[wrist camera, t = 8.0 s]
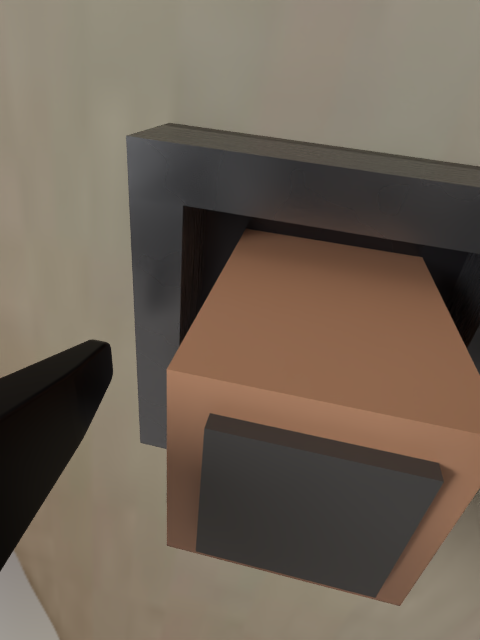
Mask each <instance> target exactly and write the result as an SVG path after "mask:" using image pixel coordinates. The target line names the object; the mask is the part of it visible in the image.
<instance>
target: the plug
mask: <svg viewBox="0 0 480 640" xmlns="http://www.w3.org/2000/svg"><path fill="white" fill-rule="evenodd" d="M479 488H480V375H479V373H478V371H477V369H476V367H475V365H474V363H473V361H472V358H471V356H470V354H469V352H468V350H467V348H466V346H465V344H464V342H463V340H462V338H461V336H460V334H459V332H458V330H457V328H456V326H455V324H454V322H453V320H452V317H451V315H450V313H449V311H448V309H447V307H446V305H445V303H444V301H443V299H442V297H441V295H440V293H439V291H438V289H437V287H436V285H435V283H434V281H433V278H432V276H431V274H430V272H429V270H428V268H427V266H426V264H425V262H424V260H423V258H422V257H417V256H411V255H405V254H399V253H393V252H386V251H380V250H374V249H368V248H362V247H356V246H349V245H343V244H337V243H331V242H325V241H319V240H312V239H306V238H300V237H294V236H288V235H282V234H275V233H269V232H263V231H257V230H251V229H245V231H244V233H243V235H242V237H241V238H240V240H239V242H238V244H237V245H236V247H235V249H234V251H233V253H232V254H231V256H230V258H229V260H228V261H227V263H226V265H225V267H224V268H223V270H222V272H221V274H220V276H219V277H218V279H217V281H216V283H215V284H214V286H213V288H212V290H211V292H210V293H209V295H208V297H207V299H206V300H205V302H204V304H203V306H202V308H201V309H200V311H199V313H198V315H197V316H196V318H195V320H194V322H193V323H192V325H191V327H190V329H189V331H188V332H187V334H186V336H185V338H184V339H183V341H182V343H181V345H180V347H179V348H178V350H177V352H176V354H175V355H174V357H173V359H172V361H171V363H170V364H169V366H168V368H167V546H170V547H174V548H178V549H182V550H186V551H190V552H194V553H197V554H201V555H205V556H209V557H213V558H217V559H221V560H224V561H228V562H232V563H236V564H240V565H244V566H248V567H251V568H255V569H259V570H263V571H267V572H271V573H275V574H278V575H282V576H286V577H290V578H294V579H298V580H302V581H305V582H309V583H313V584H317V585H321V586H325V587H329V588H332V589H336V590H340V591H344V592H348V593H352V594H356V595H359V596H363V597H367V598H371V599H375V600H379V601H383V602H386V603H390V604H394V605H398V606H400V605H401V604H402V602H403V601H404V599H405V598H406V596H407V595H408V593H409V592H410V590H411V589H412V587H413V586H414V584H415V583H416V581H417V580H418V579H419V577H420V576H421V574H422V573H423V571H424V570H425V568H426V567H427V565H428V564H429V562H430V561H431V559H432V558H433V556H434V555H435V553H436V552H437V550H438V549H439V547H440V546H441V544H442V543H443V542H444V540H445V539H446V537H447V536H448V534H449V533H450V531H451V530H452V528H453V527H454V525H455V524H456V522H457V521H458V519H459V518H460V516H461V515H462V513H463V512H464V510H465V509H466V507H467V506H468V505H469V503H470V502H471V500H472V499H473V497H474V496H475V494H476V493H477V491H478V490H479Z"/></svg>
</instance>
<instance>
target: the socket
mask: <svg viewBox="0 0 480 640" xmlns="http://www.w3.org/2000/svg"><path fill="white" fill-rule="evenodd" d="M126 142H127V164H128V185H129V207H130V228H131V250H132V271H133V293H134V314H135V336H136V357H137V378H138V400H139V421H140V443H144V444H148V445H152V446H156V447H161V448H165V449H167V368H168V366H169V364H170V363H171V361H172V359H173V357H174V355H175V354H176V352H177V350H178V348H179V347H180V345H181V343H182V341H183V339H184V338H185V336H186V334H187V332H188V331H189V329H190V327H191V325H192V323H193V322H194V320H195V318H196V316H197V315H198V313H199V311H200V309H201V308H202V306H203V304H204V302H205V300H206V299H207V297H208V295H209V293H210V292H211V290H212V288H213V286H214V284H215V283H216V281H217V279H218V277H219V276H220V274H221V272H222V270H223V268H224V267H225V265H226V263H227V261H228V260H229V258H230V256H231V254H232V253H233V251H234V249H235V247H236V245H237V244H238V242H239V240H240V238H241V237H242V235H243V233H244V231H245V229H251V230H257V231H263V232H269V233H275V234H282V235H288V236H294V237H300V238H306V239H312V240H319V241H325V242H331V243H337V244H343V245H349V246H356V247H362V248H368V249H374V250H380V251H386V252H393V253H399V254H405V255H411V256H417V257H422V258H423V260H424V262H425V264H426V266H427V268H428V270H429V272H430V274H431V276H432V278H433V281H434V283H435V285H436V287H437V289H438V291H439V293H440V295H441V297H442V299H443V301H444V303H445V305H446V307H447V309H448V311H449V313H450V315H451V317H452V320H453V322H454V324H455V326H456V328H457V330H458V332H459V334H460V336H461V338H462V340H463V342H464V344H465V346H466V348H467V350H468V352H469V354H470V356H471V358H472V361H473V363H474V365H475V367H476V369H477V371H478V373H479V375H480V167H479V166H472V165H465V164H458V163H450V162H443V161H436V160H429V159H422V158H415V157H408V156H401V155H393V154H386V153H379V152H372V151H365V150H358V149H351V148H344V147H337V146H329V145H322V144H315V143H308V142H301V141H294V140H287V139H280V138H273V137H265V136H258V135H251V134H244V133H237V132H230V131H223V130H216V129H209V128H201V127H194V126H187V125H180V124H173V123H168V124H164V125H161V126H157V127H154V128H151V129H147V130H144V131H141V132H137V133H134V134H131V135H127V136H126Z"/></svg>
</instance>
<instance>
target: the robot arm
mask: <svg viewBox="0 0 480 640" xmlns="http://www.w3.org/2000/svg"><path fill="white" fill-rule="evenodd" d="M112 375H113V365H112V354H111V347H110V344H109V343H107V342H103V341H99V340H88V341H86V342H84V343H81V344H79V345H77V346H74V347H72V348H70V349H67V350H65V351H63V352H60V353H58V354H56V355H53V356H51V357H49V358H47V359H44V360H42V361H40V362H37V363H35V364H33V365H30V366H28V367H26V368H23V369H21V370H19V371H16V372H14V373H12V374H9V375H7V376H5V377H2V378H0V571H1V569H2V568H3V566H4V565H5V563H6V561H7V560H8V558H9V557H10V555H11V553H12V552H13V550H14V549H15V547H16V545H17V544H18V542H19V541H20V539H21V537H22V536H23V534H24V533H25V531H26V529H27V528H28V526H29V525H30V523H31V521H32V520H33V518H34V517H35V515H36V513H37V512H38V510H39V509H40V507H41V505H42V504H43V502H44V501H45V499H46V497H47V496H48V494H49V493H50V491H51V489H52V488H53V486H54V485H55V483H56V481H57V480H58V478H59V477H60V475H61V473H62V472H63V470H64V469H65V467H66V465H67V464H68V462H69V461H70V459H71V457H72V456H73V454H74V453H75V451H76V449H77V448H78V446H79V444H80V443H81V441H82V439H83V438H84V436H85V434H86V432H87V430H88V428H89V426H90V424H91V422H92V419H93V417H94V415H95V413H96V411H97V409H98V407H99V405H100V403H101V401H102V399H103V396H104V394H105V392H106V390H107V388H108V386H109V384H110V382H111V379H112Z"/></svg>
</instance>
